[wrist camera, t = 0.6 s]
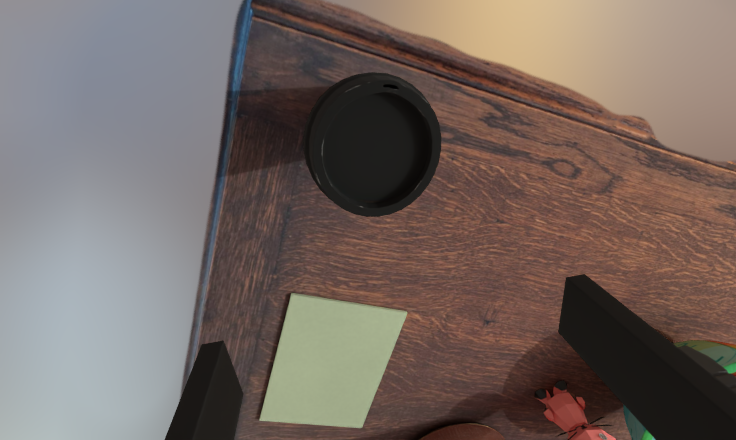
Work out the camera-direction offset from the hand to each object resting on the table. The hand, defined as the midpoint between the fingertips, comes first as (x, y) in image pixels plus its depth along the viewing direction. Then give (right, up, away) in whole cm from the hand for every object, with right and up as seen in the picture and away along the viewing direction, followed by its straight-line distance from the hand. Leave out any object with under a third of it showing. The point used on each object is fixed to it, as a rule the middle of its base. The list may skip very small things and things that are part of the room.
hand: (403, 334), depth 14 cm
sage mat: (-6, -14, +31) cm, 35 cm away
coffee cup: (-3, +14, +20) cm, 24 cm away
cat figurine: (+26, -21, +40) cm, 52 cm away
